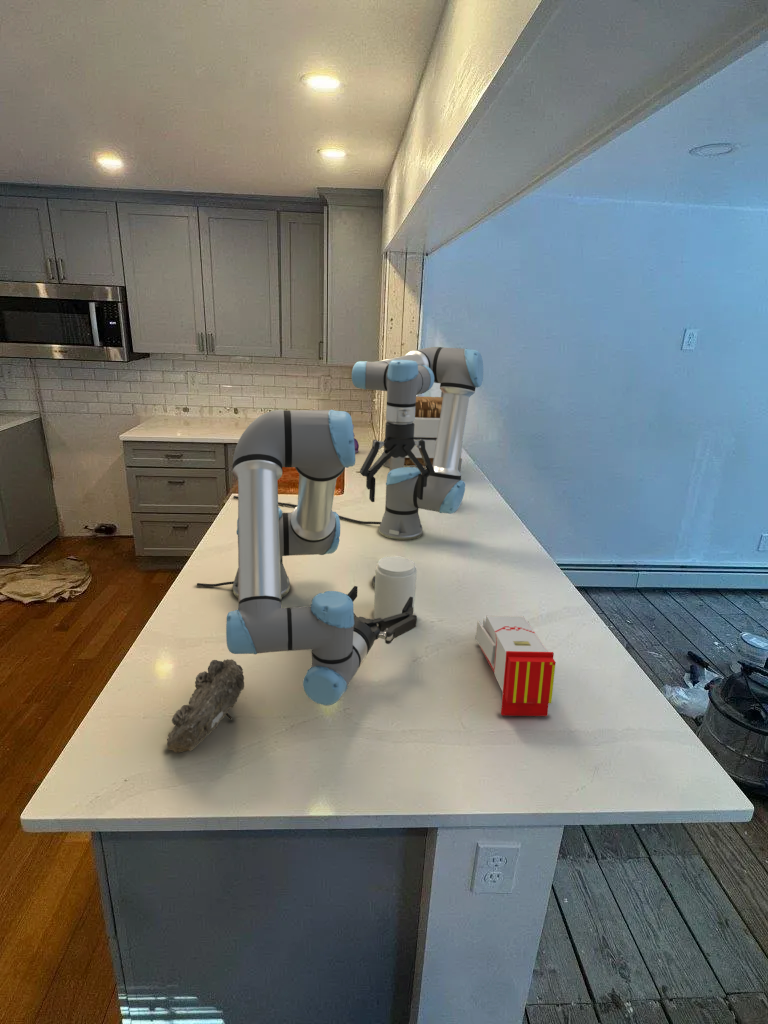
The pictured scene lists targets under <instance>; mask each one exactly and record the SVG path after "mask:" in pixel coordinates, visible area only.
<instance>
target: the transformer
mask: <svg viewBox="0 0 768 1024" xmlns="http://www.w3.org/2000/svg"><path fill="white" fill-rule="evenodd" d="M440 393H441V394H440V396H418V395H416V407H415V421H413V423H414V441H415V440H418V439H422V440H424V441H425V449H426V451H427V454H428V456H429V459H430V461H431V463H432V465H433V459H434V452H435V446H436V439H437V433H438V427H439V420H440V414H441V407H442V401H443V392H442V391H441V392H440ZM386 422H387V420H386V419H385V423H386ZM463 442H464V440H462V444H463ZM384 451H385V447H384V446H383V452H384ZM411 451H412V453H413V454H414V455H415V457H416V458H417V459H418V461H419V462H420V463H421V465H422V466H423V467H426V465H425V463H424V460H423V458H422V456H421V453H420V451H419V448H417V447H416V445H415V446H414V447H413V449H412V450H411ZM462 453H463V445H462V446H461V452H460V458H459V465H458V471H459V472H460V474H461V475H462V473H461V472H462V461H463V460H462ZM383 466H384V467H388V468H389V472H390V471H391V470H393V469H397V468H403V467H405V466H406V467H416V465H415V464H414V463H413V462H412V460H411V459H410V458H409V457H408V455H407V456H406V457H397V458H394V457H392V456H391V457H390V459H388V460H387V461H386V462H385V463H384V464H383Z"/></svg>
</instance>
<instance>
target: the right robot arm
mask: <svg viewBox="0 0 768 1024" xmlns="http://www.w3.org/2000/svg"><path fill="white" fill-rule="evenodd" d="M351 381H352V384H353V386H354V387H355V388H356V389H360V390H361V389H362V390H364V391H366V390H371V391H382V392H386V407H385V409H386V410H385V427H384V428H385V430H384V432H385V433H384V439H383V440H377V438H374V439H373V440H372V446H371V449H370V450H369V453H368V454H367V456H366V458H365V460H364V462H363V463H362V466H361V468H360V470H359V473H360V475H361V476H362V477H366V479H365V480H366V481H365V482H366V483H365V486H366V489H367V490H369V494H368V495H369V496H368V497H369V501H370V502H371V503H376V502H375V499H376V477H375V475H376V474H377V473H378V472H379V470H380V469H381V468H382V467H383V466H384V463H385V462H386V461H387V460H388V459H390V457H391V456H392V457H394V458H397V457H406V456H407V455H408V457H409V458H410V459H411V460H412V462H413V463H414V464H415V465H416V466H406V467H405V466H404V467H403V468H397V469H393V470H391V471H390V470H389V471H388V473H387V475H386V482H385V504H384V505H385V507H384V508H385V509H384V513H383V515H382V519H381V521H365V520H358V519H354V518H349V517H345V516H342V515H339V514H338V516H339V519H340V520H343V521H347V522H352V523H355V524H361V525H379V526H378V533H379V534H380V535H381V536H382V537H385V538H387V539H389V540H395V541H410V540H415V539H418V538H420V537H421V536H422V535H423V525H422V524H421V518H420V515H419V509H420V510H424V511H425V510H426V511H430V512H437V513H439V514H449V515H452V514H454V513H456V512H457V511H458V510H459V508H460V506H461V504H462V502H463V499H464V496H465V491H466V482H465V481H464V480H462V473H461V474H460V472H459V471H458V465H459V458H460V452H461V446H462V447H463V443H462V441H464V440H463V439H464V433H465V426H466V420H467V415H468V408H469V401H470V398H471V397H472V396H473V395H474V394H476V388H480V387H481V386H482V384H483V381H484V361H483V356H482V354H481V352H480V351H479V350H476V349H471V348H461V347H460V348H459V347H445V346H444V347H443V346H430V347H423V348H419V349H414V350H410V351H409V352H407V353H405V355H402V356H397V357H392V358H387V359H382V360H376V361H368V360H365V361H363V360H362V361H361V360H359V361H356V362H355V363H354V365H353V367H352V370H351ZM434 384H440V385H439V389H440V391H441V392H443V401H442V407H441V414H440V420H439V427H438V433H437V439H436V446H435V452H434V459H433V465H432V463H431V461H430V459H429V456H428V454H427V451H426V449H425V441H424V440H422V439H418V440H415V441H414V423H413V421H415V407H416V397H417V396H418V395H423V394H425V393H426V392H428V391H430V390H431V389H432V387H433V386H434ZM386 420H387V422H386ZM415 445H416V447H417V448H419V451H420V453H421V456H422V458H423V460H424V463H425V465H426V466H422V465H421V463H420V462H419V461H418V459H417V458H416V457H415V455H414V454H413V453H412V451H411V450H412V449H413V447H414V446H415ZM384 447H385V451H384V450H383V451H382V453H381V455H380V456H379V458H377V460H376V459H375V458H376V457H377V455H378V453H379V450H381V449H382V448H384ZM375 460H376V461H375ZM374 461H375V462H374ZM425 467H426V468H425ZM233 499H237V500H238V495H237V496H236V495H233ZM278 506H286V507H292V508H296V507H297V506H298V504H293V503H287V502H281V501H278Z"/></svg>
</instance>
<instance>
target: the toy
mask: <svg viewBox="0 0 768 1024" xmlns="http://www.w3.org/2000/svg"><path fill="white" fill-rule="evenodd" d="M476 622H477V623H476V631H475V640H476V642H477V644H478V646H479V648H480V650H481V652H482V653H483V656H484V658H485V659H486V661H487V663H488V664H489V666H490V668H491V670H492V672H493V673H494V677H495V679H496V681H497V683H498V686H499V688H500V690H501V692H502V696H501V697H502V698H501V710H500V715H501V716H514V717H515V716H517V717H518V716H520V717H523V716H524V717H548V712H549V704H552V700H553V692H554V681H555V672H556V664H557V663H556V661H555V659H554V654H555V653H554V651H548V649H547V648H546V646H545V645H544V644H543V642H542V641H541V639H540V638H539V636H538V635H537V634H536V632H535V630H534V629H533V627H532V626H531V624H530V622H529V621H528V620H527V619H526V617H525V616H524V615H523V616H522V615H521V616H520V615H486V616H485V617H483V621H482V623H481V621H476Z"/></svg>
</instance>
